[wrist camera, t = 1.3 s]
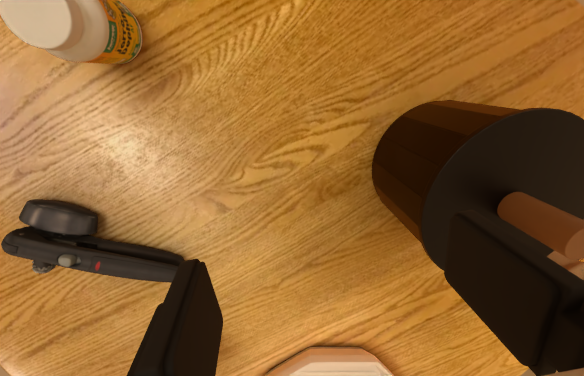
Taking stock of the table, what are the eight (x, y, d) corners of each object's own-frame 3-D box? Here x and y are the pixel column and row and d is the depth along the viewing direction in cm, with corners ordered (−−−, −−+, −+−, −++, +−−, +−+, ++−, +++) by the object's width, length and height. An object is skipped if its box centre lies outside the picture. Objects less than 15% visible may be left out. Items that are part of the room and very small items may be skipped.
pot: (471, 75, 30) (585, 76, 20) (495, 181, 36) (594, 226, 25) (353, 141, 32) (400, 174, 21) (394, 232, 37) (448, 295, 27)
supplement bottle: (73, -4, 24) (-37, -50, 15) (138, -1, 24) (68, -44, 15) (90, 64, 26) (1, 59, 17) (149, 65, 26) (93, 61, 18)
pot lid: (582, 66, 20) (726, 63, 14) (592, 224, 26) (696, 270, 20) (388, 170, 21) (440, 208, 15) (440, 296, 27) (493, 360, 21)
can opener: (27, 237, 32) (-18, 268, 27) (38, 187, 30) (-8, 210, 24) (178, 282, 36) (164, 316, 31) (196, 242, 34) (186, 271, 29)
